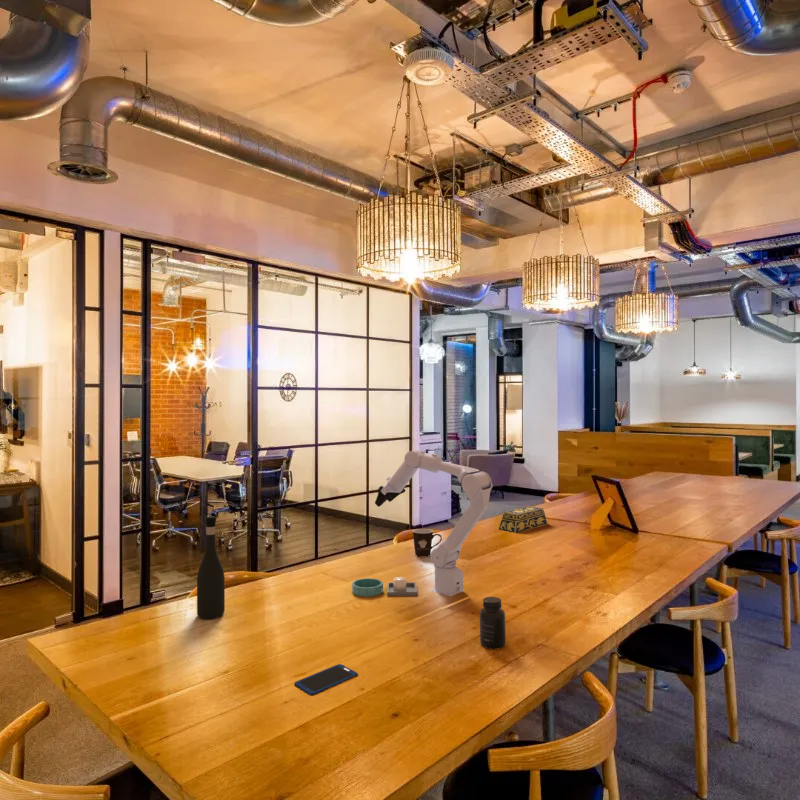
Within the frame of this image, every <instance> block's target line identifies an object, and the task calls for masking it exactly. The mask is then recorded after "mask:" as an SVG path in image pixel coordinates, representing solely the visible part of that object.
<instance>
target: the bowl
mask: <svg viewBox="0 0 800 800" xmlns="http://www.w3.org/2000/svg"><path fill="white" fill-rule="evenodd" d="M351 592H352V594H353V595H354V596H357V597H367V598H368V597H376V596H379V595H381V594H382V593H383V592H384V582H383V581H382V579H381V580H380V579H377V578H372V577H371V578H368V577H366V578H359V579H356V580H354V581H353V582H352V583H351Z"/></svg>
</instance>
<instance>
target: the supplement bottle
mask: <svg viewBox="0 0 800 800" xmlns="http://www.w3.org/2000/svg"><path fill="white" fill-rule="evenodd" d="M506 635H507V634H506V613H505V610H504V609H502V599H501V598H500V597H497V596H487V597H484V598H483V600H482V608H481V609H480V610H479V641H480V645H481V646H483V648H486V647H487V649H490V648H492V650H497V648H499V649H502V648H505V645H506V643H507V641H506V640H507V639H506Z"/></svg>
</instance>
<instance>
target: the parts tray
mask: <svg viewBox="0 0 800 800" xmlns="http://www.w3.org/2000/svg"><path fill="white" fill-rule="evenodd" d="M386 583H387V584H386V589H387V590H386V595H387V597H408V596H409V597H412V596H413V597H417V596H418V588H417V583H416V581H415V582H414V581H411V582H410V581H409V582H407V581H406V591H399V592H394V591H393V582H386Z"/></svg>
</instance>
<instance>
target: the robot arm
mask: <svg viewBox="0 0 800 800" xmlns="http://www.w3.org/2000/svg"><path fill="white" fill-rule="evenodd" d="M419 469H421V470H424V471H429V472H432V473H436V474H437V473H439V472H440V471H441V472H443V473H446V474H450V475H451V476H455V477H457V481H458V483H459V484H461V487H462V489H463V492H464V493H465V496H466V497H467V499H468V501H469V505H468V507H467V509H466V510H465V511H464V513H463V514H462V516H461V517H460V519H459V520H458V521H457V523H456V525H455V526H454V527H453V528H452V530H451V532H450V533H449V534H448V536H447V537H446V538H445V539H444V540H443V541H441V542H440V543H439V544H438V545H437V546H436V547H434V548H432V549H431V553H430V561H431V563H432V564H433V567H434V587H433V588H430V589H429V591H432V592H434V593H439V594H441V595H445V596H447V597H452V596H453V597H454V596H455V595H458V594H460V593H463V592H465V590H464V573H463V571H462V569H461V568H458V566H457V565H456V564H457V560H458V559H459V558H460V553H461V550H462V549H463V547H462V545H463V543H464V542H465V541H466V540H467V537H468V536H469V535H470V533H471V532H472V530H474V528H475V526H476V525H477V523H478V522H479V521H480V519H482V517H483V515H484V514H485V512H486V511H487V510H488V508H489V503H490V495H491V490H492V489H493V487H494V485H493V482H492V478H491V476H490V474H489V473H487V472H486V471H480V470H479V469H478V468H473V467H470V466H466V465H462V464H461V465H460V464H458V463H457V464H456V463H452V462H447V461H444V460H443V459H442V457H441V456H439V455H438V454H437V453H427V452H426V451H424V450H421V449H417V450H410V451H407V453H405V455H404V460H403V462H402V463H401V464H400V466H398V468H397V470H396V471H395V472H394V473H393V475H392V477H390V476H389V477H387V478H386V481H387V482H386V484H385V485H381V486H379V487H378V488H377V489H378V491H377V496H376V499H375V501H374V504H375V506H377V507H378V508H379V507H381V506H382V505H383V504H384V503H386V501H388V502H389V503H390V502H392V501H394V499H396V498H397V497H398V496H399V495H401V494H404V493H405V492H406V489H405V487H406V486H407V484H408V483H409V481H411V479H412V478H413V476H414V475H415V474H416V472H417V471H418V470H419Z"/></svg>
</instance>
